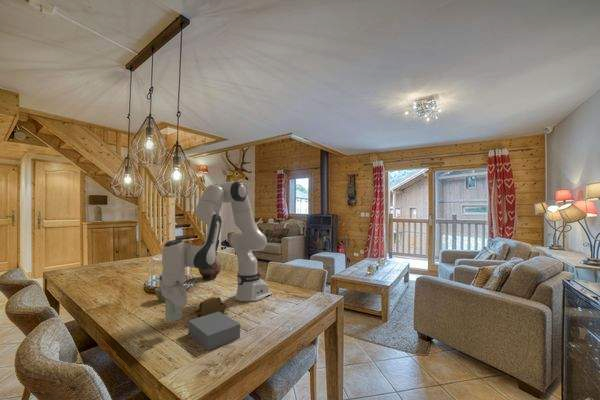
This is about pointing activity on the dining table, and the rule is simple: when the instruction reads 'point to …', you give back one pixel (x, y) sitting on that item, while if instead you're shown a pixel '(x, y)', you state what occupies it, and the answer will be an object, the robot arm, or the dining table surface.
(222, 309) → the wooden carving
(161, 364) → the dining table surface
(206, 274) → the ceramic jug
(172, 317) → the sage block
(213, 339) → the slate block
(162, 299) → the flower pot
